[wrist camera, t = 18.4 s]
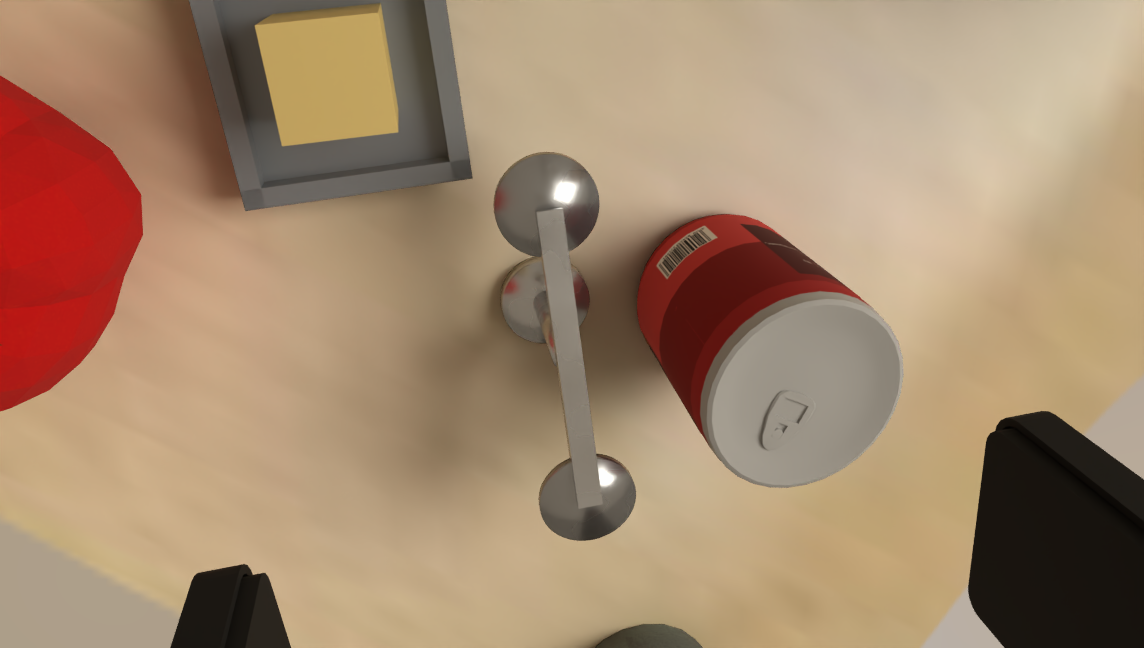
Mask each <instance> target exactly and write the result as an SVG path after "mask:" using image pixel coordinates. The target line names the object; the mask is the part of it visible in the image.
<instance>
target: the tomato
mask: <svg viewBox="0 0 1144 648" xmlns="http://www.w3.org/2000/svg"><path fill="white" fill-rule="evenodd" d="M142 236H143V226H142V205H141V194H140V192H139V191H138V189H137V188H136V186H135V184H134V183H133V181H132V180H131V178H130V177H129V175H128V174H127V172H126V171H125V169H124V168H123V166H122V165H121V163H120V162H119V160H118V159H117V158H116V156H115V155H114V153H113V152H112V150H111V149H110V148H109V147H107V146H106V145H105V144H103V143H102V142H100V141H99V140H98V139H96V138H95V137H93V136H92V135H91V134H89V133H88V132H86V131H85V130H84V129H82V128H81V127H79V126H78V125H77V124H75V123H74V122H72V121H71V120H70V119H68V118H67V117H65V116H64V115H63V114H61V113H60V112H58V111H57V110H55V109H53V108H52V107H50V106H49V105H47V104H45V103H44V102H42V101H40V100H39V99H37V98H36V97H34V96H32V95H31V94H29V93H28V92H26V91H24V90H23V89H21V88H20V87H18V86H16V85H15V84H13V83H11V82H10V81H8V80H7V79H5V78H3V77H2V76H0V411H3V410H6V409H10V408H12V407H14V406H16V405H18V404H21V403H23V402H25V401H27V400H29V399H31V398H33V397H35V396H38V395H40V394H42V393H44V392H46V391H48V390H50V389H51V388H52V387H53V386H54V385H56V384H57V383H58V382H59V381H60V380H61V379H63V378H64V377H65V376H66V375H67V374H68V373H70V372H71V371H72V370H73V369H74V368H75V367H76V366H78V365H79V364H80V363H81V362H82V361H83V359H84V358H85V357H86V356H87V355H88V353H89V352H90V351H91V350H92V349H93V347H94V346H95V345H96V343H97V341H98V340H99V338H100V336H101V335H102V333H103V331H104V330H105V328H106V326H107V325H108V323H109V321H110V319H111V318H112V316H113V314H114V312H115V308H116V304H117V301H118V297H119V293H120V290H121V286H122V282H123V279H124V276H125V273H126V271H127V269H128V267H129V264H130V262H131V260H132V258H133V256H134V253H135V251H136V249H137V247H138V244H139V242H140V240H141V238H142Z"/></svg>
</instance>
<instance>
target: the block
mask: <svg viewBox="0 0 1144 648" xmlns="http://www.w3.org/2000/svg"><path fill="white" fill-rule="evenodd" d="M255 29H256V34H257V38H258V43H259V47H260V51H261V56H262V60H263V65H264V69H265V73H266V78H267V82H268V87H269V91H270V96H271V100H272V104H273V109H274V113H275V118H276V122H277V126H278V131H279V135H280V140H281V144H282V146H290V145H298V144H306V143H314V142H323V141H331V140H339V139H347V138H356V137H364V136H372V135H380V134H389V133H397V132H398V104H397V98H396V92H395V86H394V80H393V74H392V68H391V62H390V56H389V50H388V44H387V38H386V32H385V26H384V20H383V14H382V8H381V3H376V4H366V5H356V6H346V7H337V8H327V9H317V10H307V11H297V12H287V13H278V14H272V15H270V16H269V17H267V18H266V19H264V20H262V21H261V22H259V23H258V24H256V25H255Z"/></svg>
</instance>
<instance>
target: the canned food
mask: <svg viewBox="0 0 1144 648" xmlns="http://www.w3.org/2000/svg"><path fill="white" fill-rule="evenodd" d="M637 315H638V320H639V325H640V329H641V331H642V333H643V336H644V338H645V340H646V342H647V344H648V345H649V347H650V349H651V350H652V352H653V354H654V355H655V357H656V359H657V361H658V362H659V364H660V366H661V367H662V369H663V371H664V372H665V374H666V376H667V377H668V379H669V381H670V382H671V384H672V386H673V387H674V389H675V391H676V393H677V394H678V396H679V398H680V399H681V401H682V403H683V404H684V406H685V408H686V409H687V411H688V413H689V414H690V416H691V418H692V419H693V421H694V423H695V424H696V426H697V428H698V430H699V431H700V433H701V434H702V435H703V437H704V438H705V440H706V442H707V443H708V445H709V447H710V448H711V449H712V451H713V452H714V453H715V455H716V456H717V457H718V458H719V460H720V461H722V463H723V464H724V465H725V466H726V467H727V468H728V469H729V470H730V471H732V472H733V473H734V474H735V475H737V476H738V477H740V478H742V479H744V480H746V481H749V482H751V483H753V484H757V485H762V486H766V487H779V488H789V487H795V486H801V485H807V484H810V483H813V482H816V481H819V480H822V479H824V478H826V477H828V476H830V475H832V474H834V473H836V472H838V471H840V470H842V469H843V468H845V467H846V466H848V465H849V464H850V463H852V462H853V461H855V460H856V459H857V458H859V457H860V456H861V455H862V454H863V453H864V452H865V451H866V450H867V449H868V448H869V447H870V446H871V445H872V444H873V443H874V442H875V440H876V439H877V438H878V436H879V435H880V434H881V432H882V431H883V430H884V429H885V427H886V425H887V423H888V422H889V420H890V418H891V416H892V414H893V412H894V410H895V408H896V405H897V402H898V399H899V396H900V393H901V388H902V381H903V357H902V353H901V350H900V346H899V342H898V340H897V338H896V336H895V335H894V333H893V331H892V329H891V328H890V326H889V325H888V324H887V323H886V322H885V321H884V319H883V318H882V317H881V316H880V315H879V314H878V313H877V312H876V311H875V310H874V309H873V308H872V307H871V306H870V305H868V304H867V303H866V302H865V301H863V300H862V299H861V298H860V297H859V296H858V295H857V294H855V293H854V292H853V291H852V290H850V289H849V288H848V287H846V286H845V285H844V284H843V283H841V282H840V281H839V280H837V279H836V278H835V277H833V276H832V275H831V274H830V273H828V272H827V271H826V270H824V269H823V268H822V267H821V266H819V265H818V264H817V263H815V262H814V261H813V260H812V259H810V258H809V257H808V256H806V255H805V254H804V253H802V252H801V251H800V250H799V249H797V248H796V247H795V246H793V245H792V244H791V243H790V242H788V241H787V240H786V239H784V238H783V237H782V236H780V235H779V234H778V233H777V232H775V231H774V230H773V229H771V228H770V227H768V226H767V225H765V224H763V223H762V222H760V221H758V220H755V219H752V218H749V217H746V216H740V215H730V214H721V215H712V216H706V217H703V218H700V219H696V220H693V221H691V222H689V223H687V224H685V225H684V226H682V227H680V228H678V229H677V230H676V231H674V232H673V233H672V234H670V235H669V236H668V237H667V238H666V239H665V240H664V241H663V242H662V243H661V244H660V245H659V246H658V247H657V248H656V250H655V251H654V253H653V254H652V256H651V257H650V259H649V260H648V262H647V264H646V266H645V269H644V271H643V274H642V276H641V280H640V284H639V289H638V297H637Z"/></svg>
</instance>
